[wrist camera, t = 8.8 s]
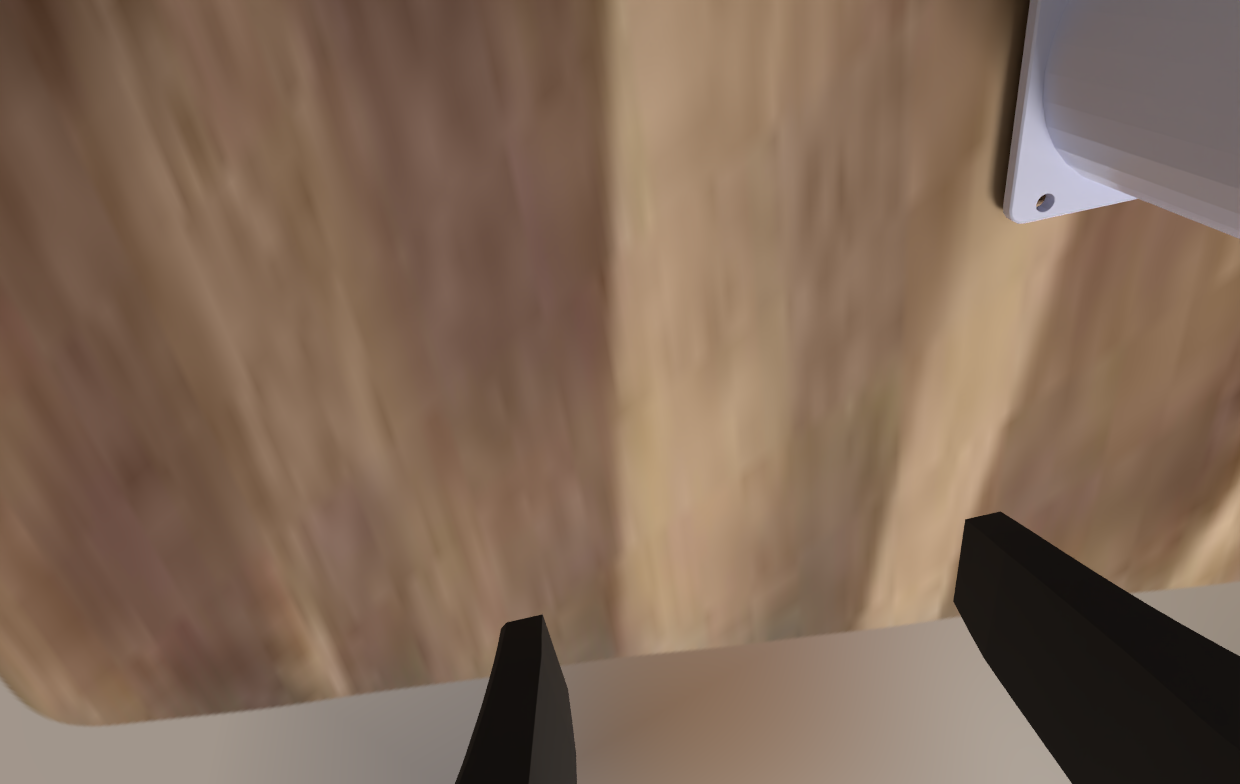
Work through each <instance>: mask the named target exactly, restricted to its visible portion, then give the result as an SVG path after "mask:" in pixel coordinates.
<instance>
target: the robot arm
mask: <svg viewBox="0 0 1240 784" xmlns="http://www.w3.org/2000/svg"><path fill="white" fill-rule="evenodd" d="M1045 194H1046V197H1045V200H1044V202H1043V203H1042V204H1041V205H1040V206H1038V207H1036V204H1037V201H1038V199H1039V198H1040V197H1041V196H1043V195H1045ZM1134 199H1141V200H1143V201H1146V202H1148V203H1151V204H1153V205H1156V206H1158V207H1161V208H1163V209H1166V210H1168V211H1171V212H1173V213H1176V214H1178V215H1181V216H1183V217H1186V218H1189V219H1191V220H1194V221H1196V222H1199V223H1201V224H1204V225H1206V226H1209V227H1211V228H1214V229H1216V230H1219V231H1221V232H1224V233H1226V234H1229V235H1231V236H1234V237H1236V238H1239V239H1240V0H1030V5H1029V13H1028V20H1027V28H1026V36H1025V43H1024V51H1023V58H1022V66H1021V74H1020V81H1019V89H1018V97H1017V104H1016V112H1015V119H1014V127H1013V135H1012V142H1011V150H1010V157H1009V165H1008V173H1007V180H1006V188H1005V196H1004V203H1003V213H1004V214H1005V216H1006V218H1008V219H1010V220H1012V221H1014V222H1016V223H1028V222H1033V221H1037V220H1042V219H1047V218H1051V217H1056V216H1060V215H1065V214H1070V213H1074V212H1079V211H1083V210H1088V209H1093V208H1097V207H1102V206H1107V205H1111V204H1116V203H1120V202H1125V201H1130V200H1134ZM954 603H955V605H956V607H957V609H958V611H959V613H960V615H961V617H962V619H963V620H964V622H965V624H966V626H967V628H968V630H969V632H970V634H971V636H972V637H973V639H974V641H975V643H976V644H977V646H978V648H979V650H980V652H981V653H982V655H983V657H984V659H985V660H986V662H987V663H988V664H989V666H990V668H991V669H992V671H993V672H994V673H995V675H996V676H997V678H998V679H999V681H1000V682H1001V683H1002V685H1003V686H1004V688H1005V689H1006V690H1007V692H1008V693H1009V695H1010V696H1011V698H1012V699H1013V701H1014V702H1015V704H1016V705H1017V706H1018V708H1019V709H1020V711H1021V712H1022V713H1023V715H1024V716H1025V717H1026V719H1027V720H1028V722H1029V723H1030V725H1031V726H1032V728H1033V729H1034V730H1035V732H1036V733H1037V735H1038V736H1039V737H1040V739H1041V740H1042V742H1043V743H1044V745H1045V746H1046V747H1047V749H1048V750H1049V752H1050V753H1051V754H1052V756H1053V757H1054V758H1055V760H1056V761H1057V763H1058V764H1059V766H1060V767H1061V769H1062V770H1063V771H1064V773H1065V774H1066V776H1067V777H1068V778H1069V780H1070V781H1071V783H1072V784H1240V656H1238V655H1236V654H1234V653H1233V652H1231V651H1229V650H1227V649H1225V648H1223V647H1222V646H1219V645H1218V644H1216V643H1214V642H1213V641H1211V640H1209V639H1207V638H1205V637H1204V636H1202V635H1200V634H1198V633H1196V632H1194V631H1193V630H1191V629H1189V628H1187V627H1186V626H1184V625H1182V624H1180V623H1179V622H1177V621H1175V620H1173V619H1172V618H1170V617H1168V616H1167V615H1165V614H1163V613H1161V612H1160V611H1158V610H1156V609H1155V608H1153V607H1151V606H1149V605H1148V604H1146V603H1144V602H1143V601H1141V600H1139V599H1138V598H1136V597H1134V596H1133V595H1131V594H1130V593H1128V592H1126V591H1125V590H1123V589H1121V588H1120V587H1118V586H1117V585H1115V584H1113V583H1112V582H1110V581H1108V580H1107V579H1105V578H1104V577H1102V576H1100V575H1099V574H1097V573H1096V572H1094V571H1093V570H1091V569H1089V568H1088V567H1086V566H1085V565H1083V564H1082V563H1080V562H1078V561H1077V560H1075V559H1074V558H1072V557H1071V556H1069V555H1067V554H1066V553H1064V552H1063V551H1061V550H1060V549H1058V548H1057V547H1055V546H1054V545H1052V544H1050V543H1049V542H1047V541H1046V540H1044V539H1043V538H1041V537H1040V536H1038V535H1037V534H1035V533H1033V532H1032V531H1030V530H1029V529H1027V528H1026V527H1024V526H1023V525H1021V524H1019V523H1018V522H1016V521H1015V520H1013V519H1012V518H1010V517H1008V516H1007V515H1005V514H1004V513H1002V512H997V513H992V514H988V515H983V516H979V517H974V518H970V519H965V525H964V532H963V539H962V546H961V553H960V560H959V567H958V574H957V580H956V587H955V594H954ZM455 784H577V774H576V750H575V742H574V733H573V725H572V717H571V709H570V702H569V694H568V688H567V685H566V682H565V679H564V676H563V673H562V670H561V667H560V665H559V662H558V659H557V656H556V653H555V650H554V647H553V644H552V641H551V638H550V635H549V632H548V629H547V626H546V623H545V620H544V617H543V615H538V616H534V617H529V618H525V619H520V620H516V621H512V622H507V623H506V624H505V625H504V626H503V627H502V628H501V632H500V637H499V642H498V647H497V651H496V655H495V659H494V664H493V667H492V671H491V675H490V679H489V682H488V686H487V689H486V693H485V696H484V700H483V703H482V707H481V710H480V713H479V716H478V719H477V722H476V725H475V728H474V731H473V734H472V737H471V740H470V744H469V746H468V749H467V752H466V756H465V758H464V761H463V764H462V766H461V769H460V772H459V774H458V777H457V780H456V782H455Z"/></svg>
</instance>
